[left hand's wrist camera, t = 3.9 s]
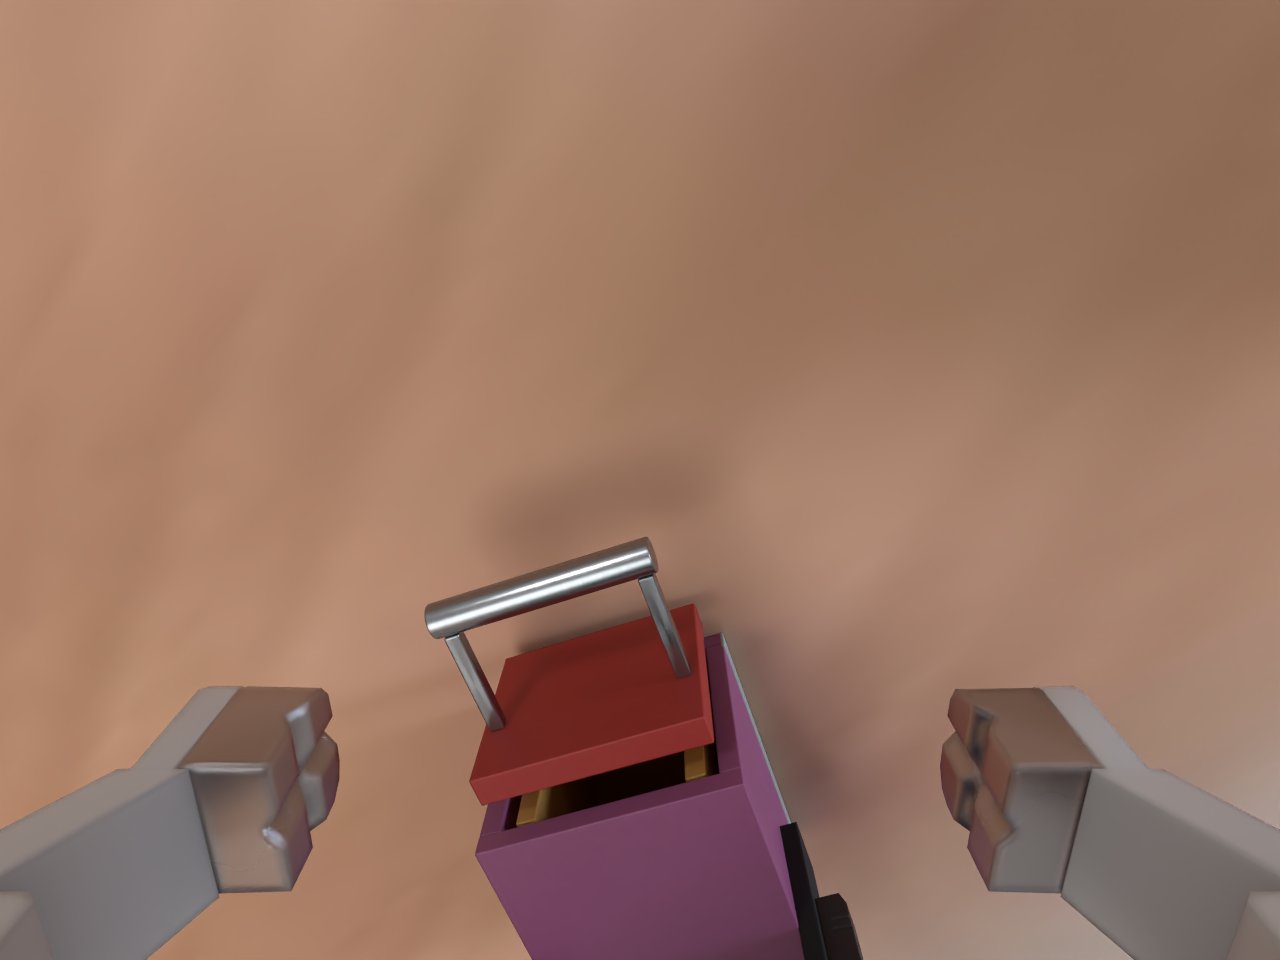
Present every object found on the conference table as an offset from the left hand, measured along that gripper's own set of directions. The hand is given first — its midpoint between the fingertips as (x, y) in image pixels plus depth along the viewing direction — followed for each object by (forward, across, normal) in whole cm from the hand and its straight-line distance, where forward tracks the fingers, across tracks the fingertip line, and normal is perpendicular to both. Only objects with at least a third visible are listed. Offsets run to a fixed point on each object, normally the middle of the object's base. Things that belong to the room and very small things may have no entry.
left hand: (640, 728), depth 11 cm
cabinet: (+23, -1, +20) cm, 31 cm away
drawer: (+22, +1, +15) cm, 27 cm away
